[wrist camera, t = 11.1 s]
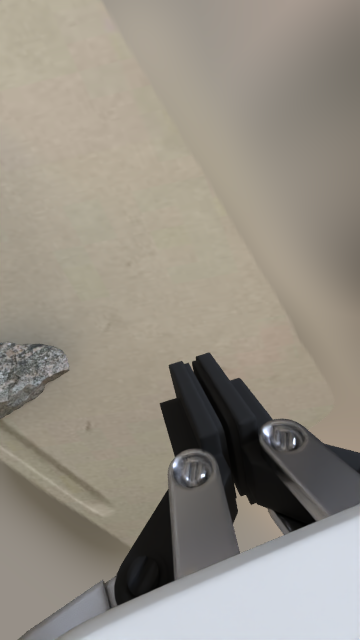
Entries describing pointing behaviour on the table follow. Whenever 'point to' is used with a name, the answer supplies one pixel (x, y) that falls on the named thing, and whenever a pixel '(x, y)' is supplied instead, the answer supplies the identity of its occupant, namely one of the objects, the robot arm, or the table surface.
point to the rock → (27, 372)
